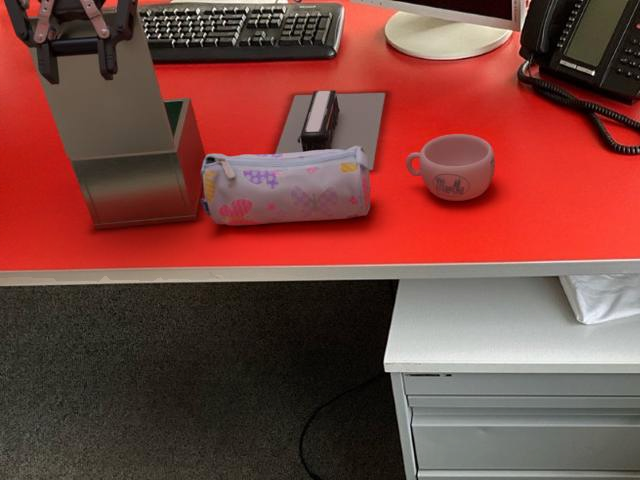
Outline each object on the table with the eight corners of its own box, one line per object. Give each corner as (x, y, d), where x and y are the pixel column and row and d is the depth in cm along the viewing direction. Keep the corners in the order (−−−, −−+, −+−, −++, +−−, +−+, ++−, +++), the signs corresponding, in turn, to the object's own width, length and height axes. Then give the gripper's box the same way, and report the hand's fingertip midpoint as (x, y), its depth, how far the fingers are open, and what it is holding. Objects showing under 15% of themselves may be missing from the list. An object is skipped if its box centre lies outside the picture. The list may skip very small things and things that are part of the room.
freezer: (116, 170, 126) (94, 104, 120) (207, 162, 127) (190, 97, 121) (95, 229, 115) (69, 160, 108) (196, 220, 116) (176, 151, 109)
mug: (501, 174, 123) (500, 134, 119) (488, 212, 116) (487, 171, 112) (416, 168, 125) (413, 129, 121) (399, 205, 118) (394, 165, 114)
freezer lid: (19, 17, 98) (6, 32, 94) (138, 8, 99) (130, 24, 95) (69, 156, 108) (59, 175, 104) (175, 147, 109) (170, 166, 105)
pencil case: (207, 237, 113) (188, 169, 106) (221, 201, 119) (204, 135, 113) (373, 231, 113) (364, 164, 107) (377, 196, 120) (369, 130, 113)
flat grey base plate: (268, 172, 125) (263, 145, 122) (295, 95, 143) (290, 69, 141) (372, 170, 125) (368, 142, 122) (385, 92, 143) (382, 67, 141)
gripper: (-22, -90, 92) (-7, 71, 91) (121, -98, 93) (137, 60, 93) (11, -51, 100) (25, 98, 99) (143, -60, 101) (158, 87, 100)
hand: (80, 79), depth 96 cm, fingers closed on freezer lid, 5 cm apart
